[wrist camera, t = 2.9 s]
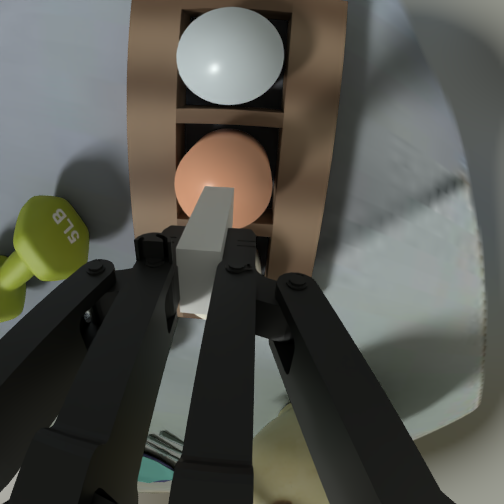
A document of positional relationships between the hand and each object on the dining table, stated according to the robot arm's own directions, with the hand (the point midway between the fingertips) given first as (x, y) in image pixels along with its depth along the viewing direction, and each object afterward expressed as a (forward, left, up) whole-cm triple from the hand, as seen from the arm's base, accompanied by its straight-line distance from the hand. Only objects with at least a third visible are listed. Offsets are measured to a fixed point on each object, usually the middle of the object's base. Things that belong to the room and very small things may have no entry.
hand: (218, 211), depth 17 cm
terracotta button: (0, 0, -7) cm, 7 cm away
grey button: (-8, 0, -7) cm, 11 cm away
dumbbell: (+9, -20, -9) cm, 24 cm away
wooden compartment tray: (0, 0, -9) cm, 9 cm away
